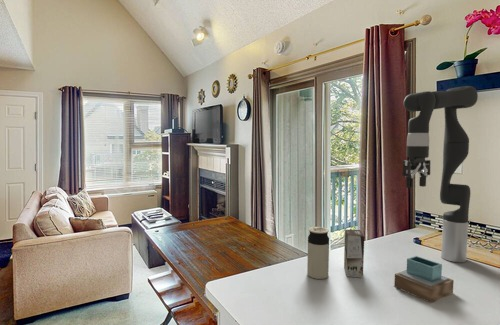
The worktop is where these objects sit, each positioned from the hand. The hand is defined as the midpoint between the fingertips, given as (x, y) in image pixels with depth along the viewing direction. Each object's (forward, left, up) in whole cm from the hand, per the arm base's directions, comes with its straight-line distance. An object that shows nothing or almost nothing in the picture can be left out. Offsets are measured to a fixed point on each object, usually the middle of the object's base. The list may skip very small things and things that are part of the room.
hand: (416, 187), depth 118 cm
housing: (+10, +10, -29) cm, 32 cm away
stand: (+10, +10, -34) cm, 37 cm away
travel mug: (+34, -17, -34) cm, 51 cm away
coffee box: (+20, -12, -34) cm, 41 cm away
